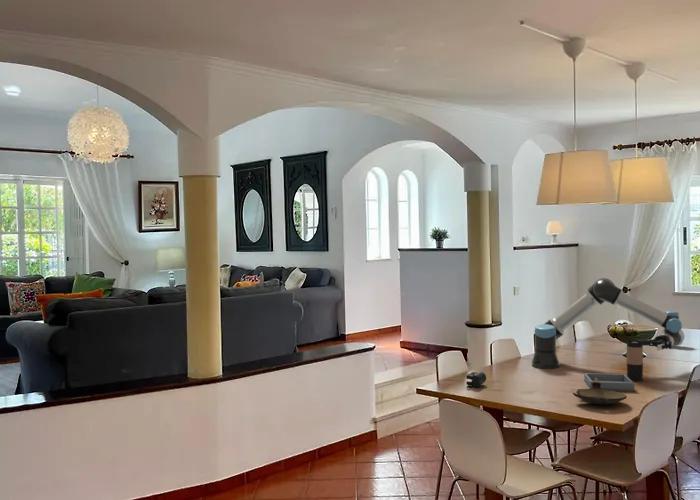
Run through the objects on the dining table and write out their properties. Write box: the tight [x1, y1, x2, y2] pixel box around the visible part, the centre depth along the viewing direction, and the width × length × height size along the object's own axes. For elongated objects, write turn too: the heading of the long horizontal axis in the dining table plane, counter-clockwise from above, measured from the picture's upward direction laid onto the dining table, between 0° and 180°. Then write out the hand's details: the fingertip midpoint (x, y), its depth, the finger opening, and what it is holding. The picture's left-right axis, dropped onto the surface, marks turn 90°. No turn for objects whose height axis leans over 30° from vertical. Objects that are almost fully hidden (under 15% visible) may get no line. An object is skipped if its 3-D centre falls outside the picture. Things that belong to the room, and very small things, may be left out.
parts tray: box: [583, 372, 635, 392], centre depth 321 cm, size 20×20×4 cm
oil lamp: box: [572, 378, 627, 406], centre depth 291 cm, size 22×30×8 cm
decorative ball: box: [660, 327, 685, 347], centre depth 429 cm, size 15×13×15 cm
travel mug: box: [626, 340, 644, 382], centre depth 334 cm, size 8×8×20 cm
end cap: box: [465, 371, 487, 389], centre depth 325 cm, size 10×7×7 cm
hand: (645, 346), depth 339 cm, fingers open, 13 cm apart
